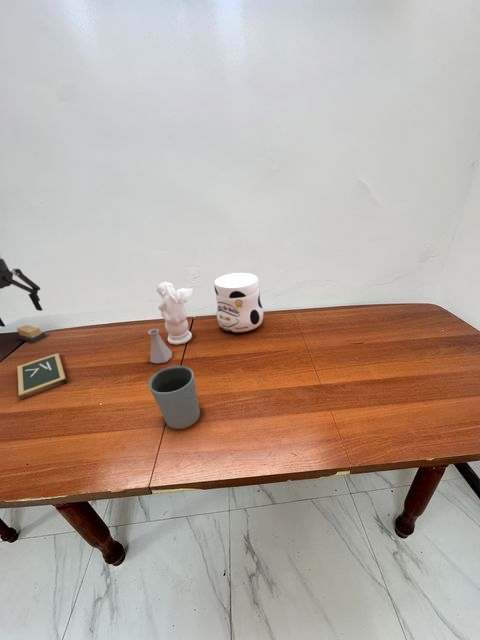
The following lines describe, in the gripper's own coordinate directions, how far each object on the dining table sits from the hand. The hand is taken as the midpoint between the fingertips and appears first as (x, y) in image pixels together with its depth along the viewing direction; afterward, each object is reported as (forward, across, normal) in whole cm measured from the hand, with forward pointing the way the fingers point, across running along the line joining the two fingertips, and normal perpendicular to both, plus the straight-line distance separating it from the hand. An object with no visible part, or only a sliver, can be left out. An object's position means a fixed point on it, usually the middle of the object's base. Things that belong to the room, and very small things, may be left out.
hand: (21, 317), depth 109 cm
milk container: (+10, +34, -74) cm, 82 cm away
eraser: (+9, 0, 0) cm, 9 cm away
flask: (+10, +6, -59) cm, 60 cm away
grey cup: (+10, -13, -82) cm, 83 cm away
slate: (+9, -15, -29) cm, 34 cm away
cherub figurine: (+10, +19, -59) cm, 62 cm away
